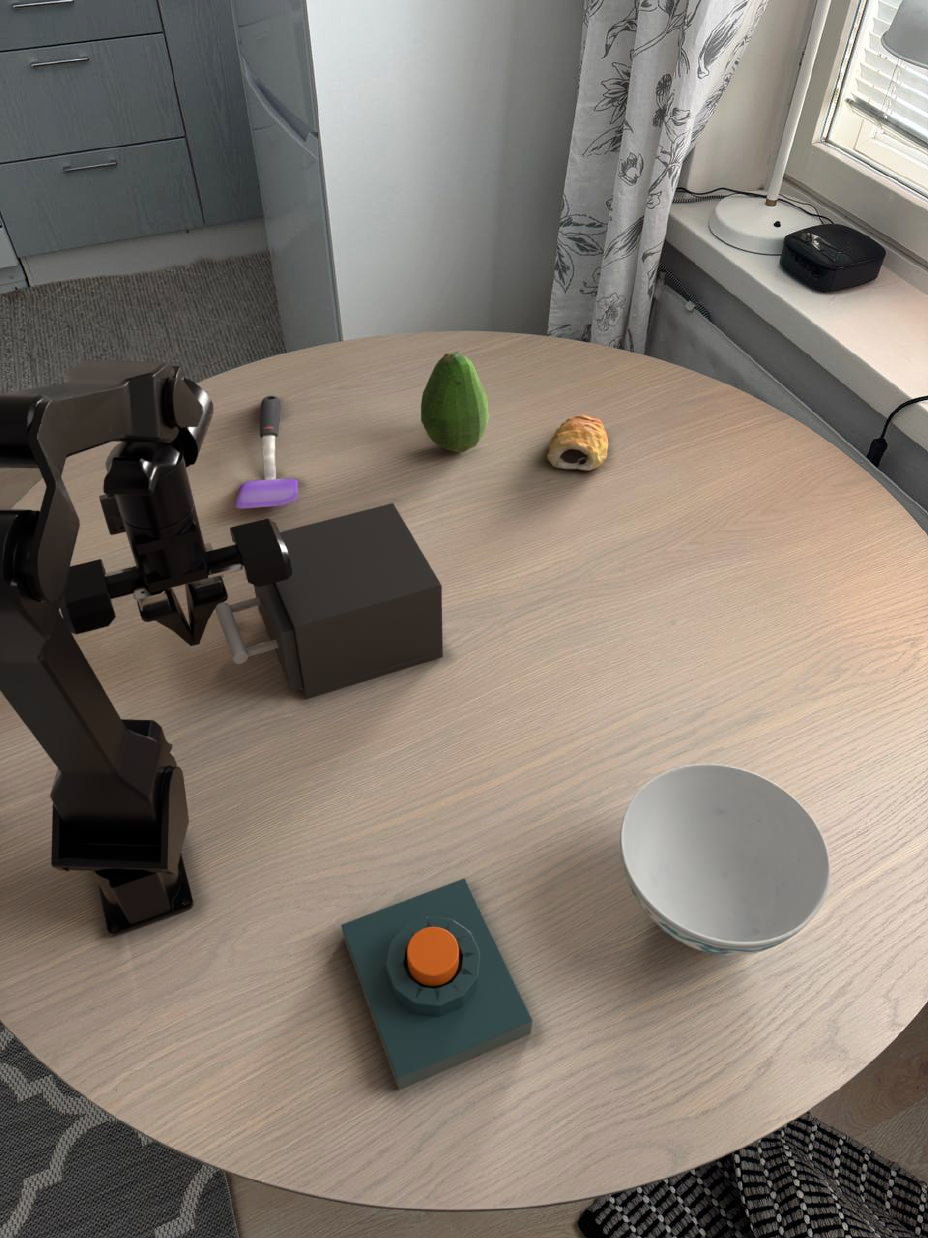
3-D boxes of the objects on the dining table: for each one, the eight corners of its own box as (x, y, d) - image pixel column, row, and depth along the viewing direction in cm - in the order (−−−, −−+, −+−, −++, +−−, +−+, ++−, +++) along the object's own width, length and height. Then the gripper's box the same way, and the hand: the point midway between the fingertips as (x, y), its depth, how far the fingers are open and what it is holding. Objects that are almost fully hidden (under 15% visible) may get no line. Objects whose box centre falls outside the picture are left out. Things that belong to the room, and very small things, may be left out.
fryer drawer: (245, 706, 90) (231, 647, 84) (216, 623, 97) (202, 564, 92) (418, 653, 95) (415, 594, 89) (378, 577, 102) (373, 519, 96)
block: (531, 1033, 70) (534, 1009, 68) (398, 1091, 68) (396, 1068, 65) (464, 891, 78) (465, 865, 75) (343, 938, 75) (338, 912, 72)
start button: (466, 975, 70) (466, 963, 68) (418, 994, 69) (418, 983, 67) (447, 931, 72) (446, 919, 71) (400, 949, 71) (399, 937, 70)
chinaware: (654, 1018, 71) (670, 969, 66) (581, 842, 81) (590, 787, 76) (841, 965, 74) (872, 914, 68) (748, 801, 84) (769, 745, 79)
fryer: (306, 699, 92) (294, 627, 85) (270, 610, 100) (256, 537, 93) (443, 657, 96) (442, 584, 89) (397, 574, 104) (393, 502, 97)
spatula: (246, 403, 126) (243, 386, 124) (300, 400, 126) (298, 383, 125) (237, 525, 109) (233, 508, 107) (299, 521, 110) (297, 504, 108)
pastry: (560, 423, 123) (562, 397, 120) (614, 432, 122) (618, 405, 119) (544, 468, 117) (547, 441, 114) (601, 477, 115) (605, 450, 113)
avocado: (467, 420, 123) (468, 332, 115) (499, 453, 119) (502, 364, 110) (410, 437, 121) (406, 349, 112) (439, 472, 116) (438, 383, 107)
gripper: (248, 427, 87) (272, 561, 98) (24, 475, 82) (76, 611, 93) (282, 501, 79) (303, 637, 90) (38, 560, 74) (92, 695, 85)
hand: (194, 642), depth 90 cm, fingers closed
